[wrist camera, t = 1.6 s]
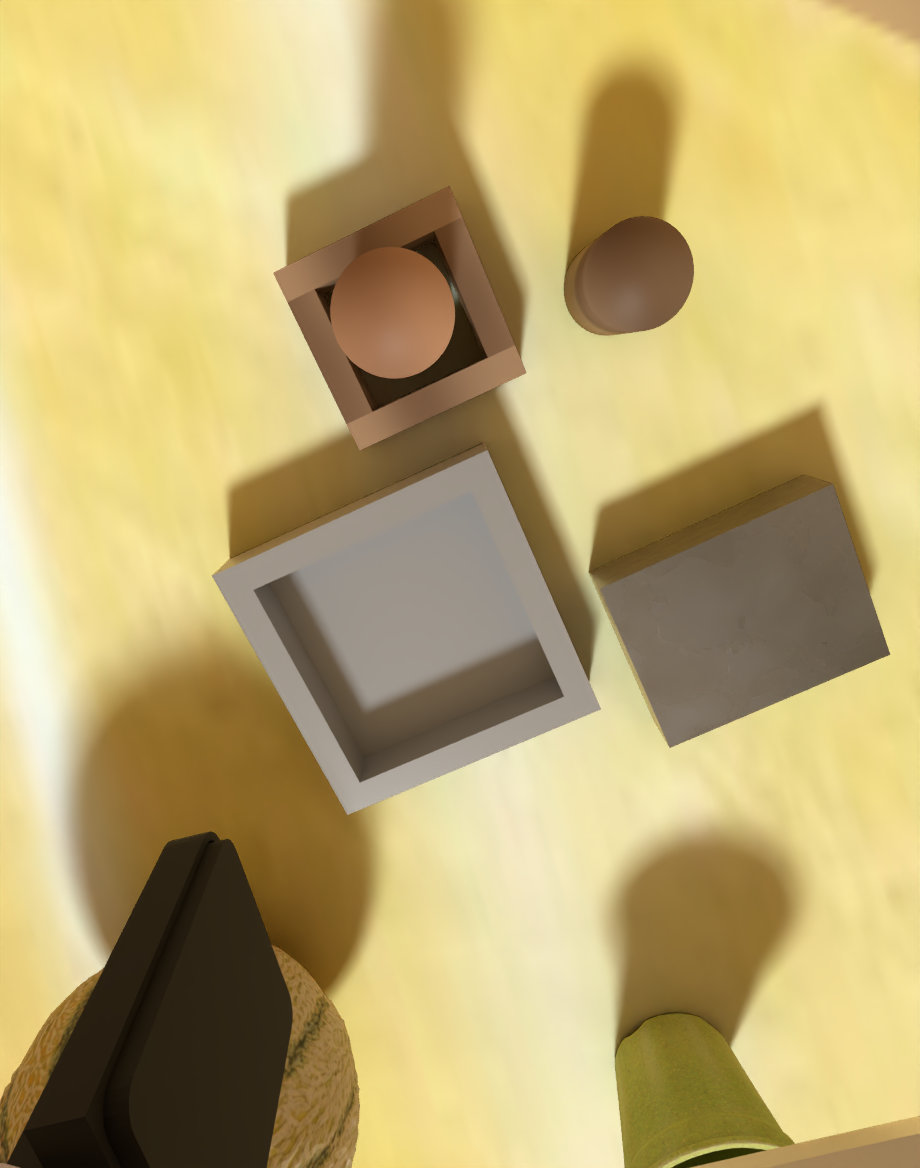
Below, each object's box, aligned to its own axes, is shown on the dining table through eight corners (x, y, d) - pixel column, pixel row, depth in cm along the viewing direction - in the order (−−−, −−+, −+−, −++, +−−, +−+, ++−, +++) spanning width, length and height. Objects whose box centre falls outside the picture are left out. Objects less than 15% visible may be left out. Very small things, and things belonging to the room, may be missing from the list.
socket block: (448, 199, 30) (449, 185, 27) (519, 371, 32) (526, 373, 29) (286, 279, 30) (273, 272, 28) (365, 443, 32) (359, 450, 30)
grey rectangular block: (799, 473, 34) (833, 483, 31) (853, 630, 36) (890, 654, 33) (586, 569, 35) (600, 588, 32) (651, 717, 37) (669, 747, 34)
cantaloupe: (313, 1132, 43) (250, 1526, 28) (49, 1051, 41) (-163, 1432, 26) (419, 923, 39) (408, 1253, 25) (135, 824, 37) (-57, 1120, 23)
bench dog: (635, 222, 30) (672, 197, 25) (666, 312, 31) (708, 303, 26) (549, 263, 31) (570, 245, 26) (583, 350, 32) (610, 349, 27)
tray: (483, 442, 32) (487, 449, 30) (589, 683, 36) (600, 709, 33) (229, 559, 34) (211, 575, 31) (353, 782, 37) (347, 814, 34)
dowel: (427, 262, 30) (422, 224, 22) (464, 350, 31) (475, 346, 23) (344, 302, 31) (308, 280, 22) (384, 387, 32) (364, 398, 23)
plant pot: (580, 991, 40) (618, 1154, 32) (760, 977, 41) (844, 1137, 32) (585, 1128, 43) (620, 1312, 35) (754, 1114, 43) (829, 1295, 35)
